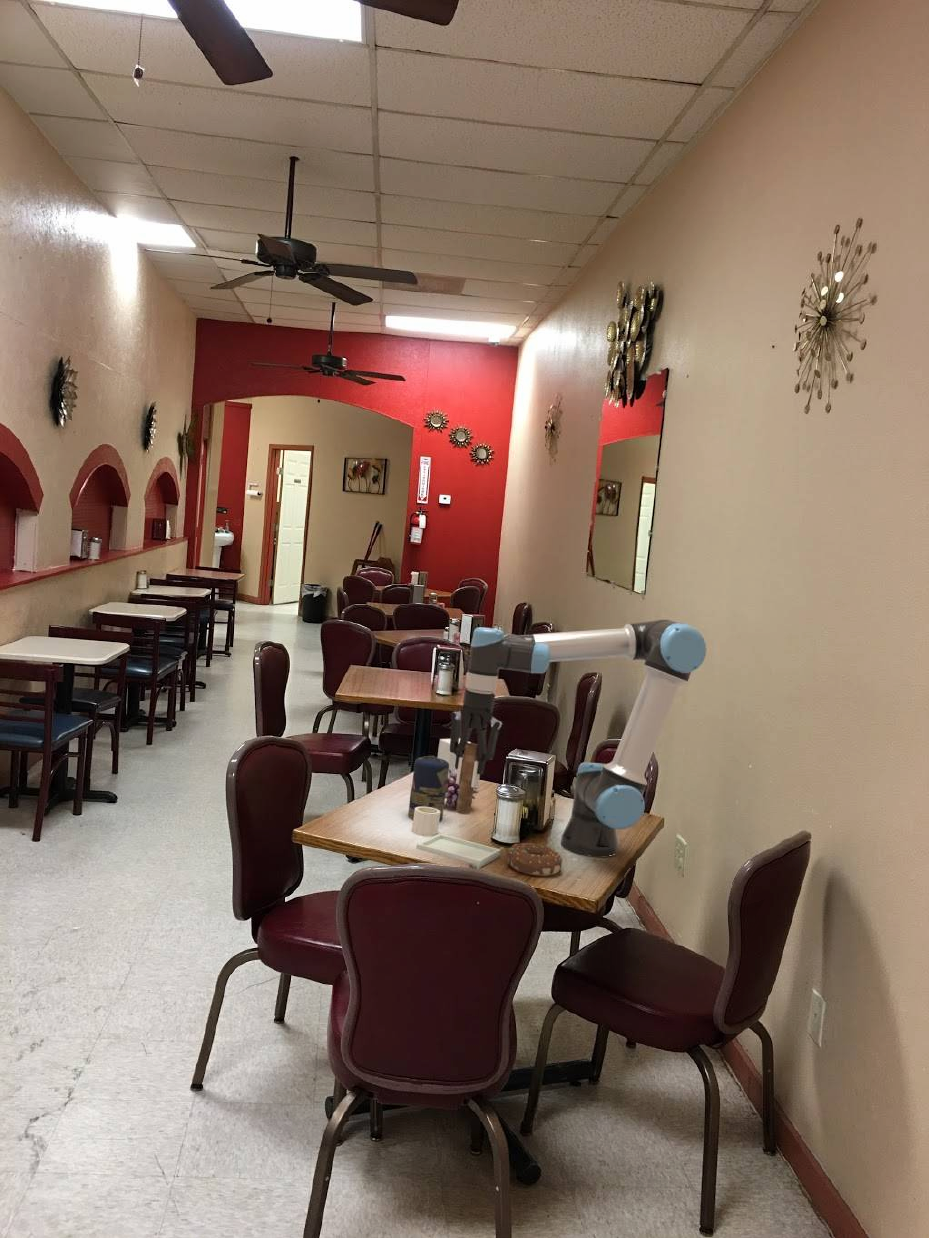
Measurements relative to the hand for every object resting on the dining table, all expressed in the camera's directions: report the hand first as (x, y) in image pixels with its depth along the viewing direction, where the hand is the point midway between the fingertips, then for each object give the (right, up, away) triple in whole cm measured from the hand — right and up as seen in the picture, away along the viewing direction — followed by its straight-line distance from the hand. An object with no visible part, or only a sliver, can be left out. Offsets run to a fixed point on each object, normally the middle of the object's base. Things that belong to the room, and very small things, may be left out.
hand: (467, 784), depth 249 cm
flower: (-3, -14, +46) cm, 48 cm away
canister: (-12, -15, +27) cm, 33 cm away
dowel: (-1, -7, 0) cm, 7 cm away
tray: (-2, -17, +1) cm, 18 cm away
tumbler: (-11, -15, +14) cm, 23 cm away
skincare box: (-5, -13, +67) cm, 69 cm away
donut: (+16, -20, -2) cm, 26 cm away
